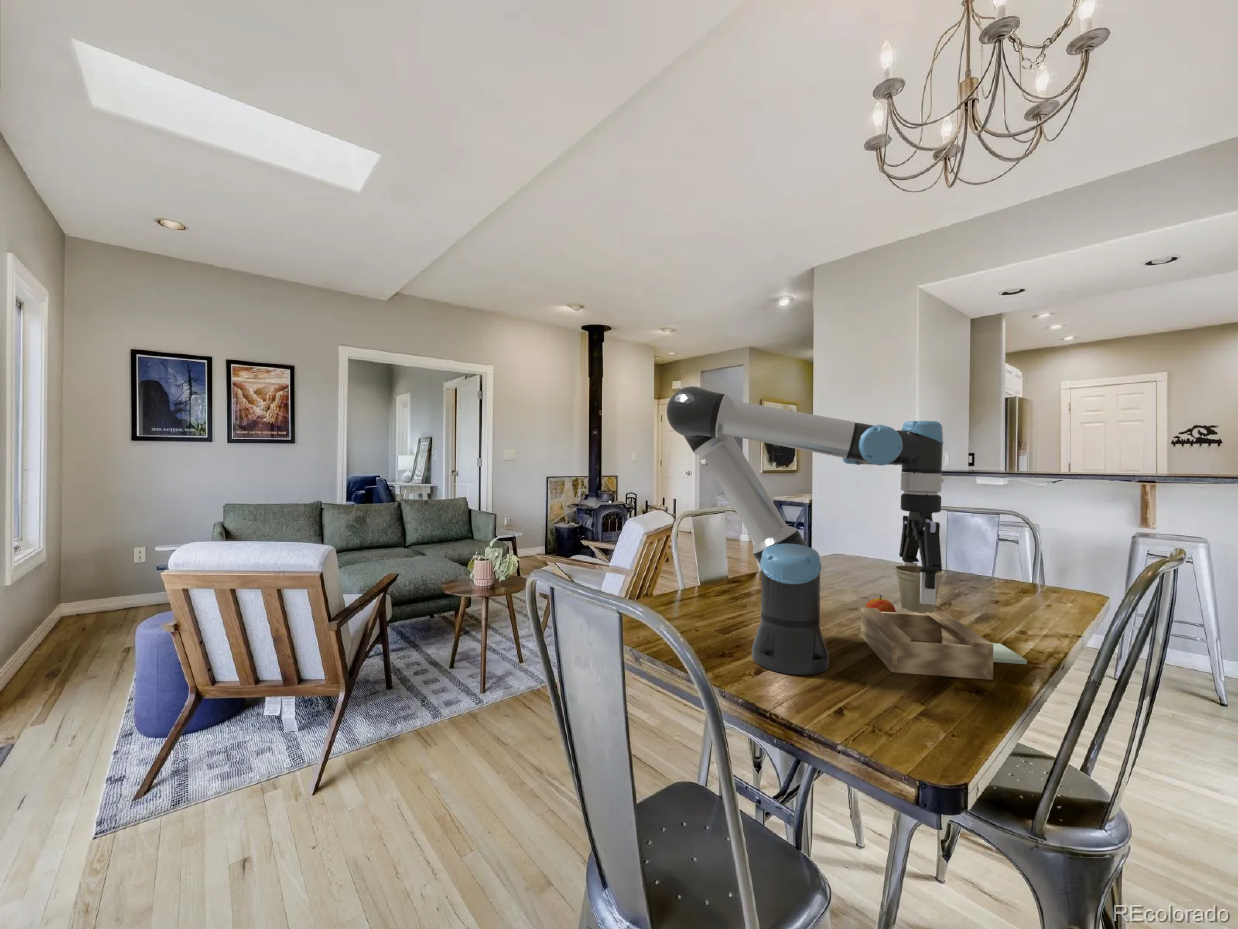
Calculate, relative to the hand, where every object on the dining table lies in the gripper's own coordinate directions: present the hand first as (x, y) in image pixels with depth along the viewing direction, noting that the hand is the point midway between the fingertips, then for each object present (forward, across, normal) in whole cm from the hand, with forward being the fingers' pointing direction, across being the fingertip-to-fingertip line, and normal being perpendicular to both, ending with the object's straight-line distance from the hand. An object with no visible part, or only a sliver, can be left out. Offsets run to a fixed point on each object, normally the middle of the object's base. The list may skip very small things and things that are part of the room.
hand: (918, 597), depth 112 cm
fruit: (+13, +20, +2) cm, 24 cm away
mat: (+12, +4, -16) cm, 20 cm away
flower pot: (+3, 0, 0) cm, 3 cm away
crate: (+12, 0, 0) cm, 12 cm away
